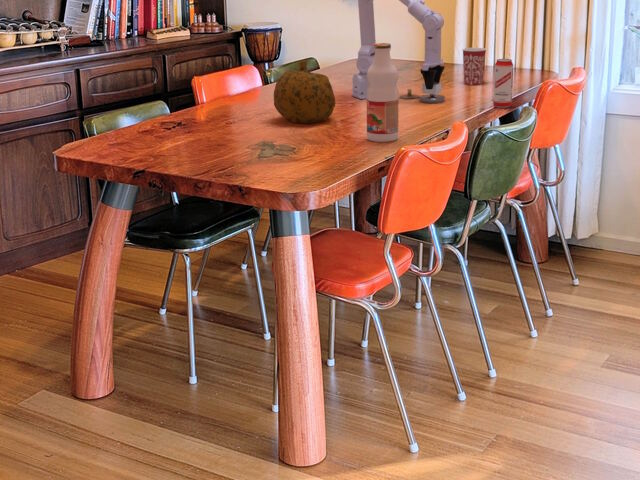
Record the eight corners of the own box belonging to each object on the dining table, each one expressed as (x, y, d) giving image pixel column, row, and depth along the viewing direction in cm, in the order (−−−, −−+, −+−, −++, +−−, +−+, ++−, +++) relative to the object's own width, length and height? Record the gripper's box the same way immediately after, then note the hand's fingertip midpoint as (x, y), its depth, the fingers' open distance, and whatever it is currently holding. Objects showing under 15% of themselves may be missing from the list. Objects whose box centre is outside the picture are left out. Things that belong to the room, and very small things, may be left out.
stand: (405, 100, 331) (405, 91, 330) (396, 96, 338) (396, 88, 337) (422, 98, 334) (422, 89, 333) (413, 95, 340) (413, 86, 339)
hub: (426, 104, 323) (426, 91, 321) (415, 100, 331) (415, 87, 329) (449, 101, 326) (449, 89, 324) (437, 97, 334) (437, 85, 332)
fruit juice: (401, 141, 270) (401, 45, 261) (369, 143, 269) (368, 46, 260) (395, 134, 279) (395, 41, 270) (364, 136, 278) (363, 42, 269)
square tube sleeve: (435, 94, 324) (436, 84, 323) (422, 93, 326) (422, 83, 325) (441, 92, 328) (441, 82, 327) (427, 90, 331) (428, 81, 330)
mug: (482, 86, 354) (483, 51, 349) (459, 85, 357) (460, 50, 353) (489, 81, 365) (490, 46, 360) (467, 80, 368) (468, 46, 364)
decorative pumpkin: (282, 127, 289) (281, 62, 284) (268, 120, 309) (267, 59, 304) (344, 124, 294) (344, 61, 289) (326, 117, 314) (326, 58, 309)
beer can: (511, 108, 312) (513, 61, 306) (492, 108, 313) (494, 61, 308) (511, 105, 317) (513, 58, 312) (493, 104, 319) (495, 58, 313)
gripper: (435, 52, 314) (435, 91, 319) (451, 47, 326) (450, 85, 331) (416, 51, 318) (416, 90, 322) (432, 46, 330) (431, 84, 334)
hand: (432, 87), depth 327 cm, fingers closed on square tube sleeve, 5 cm apart
